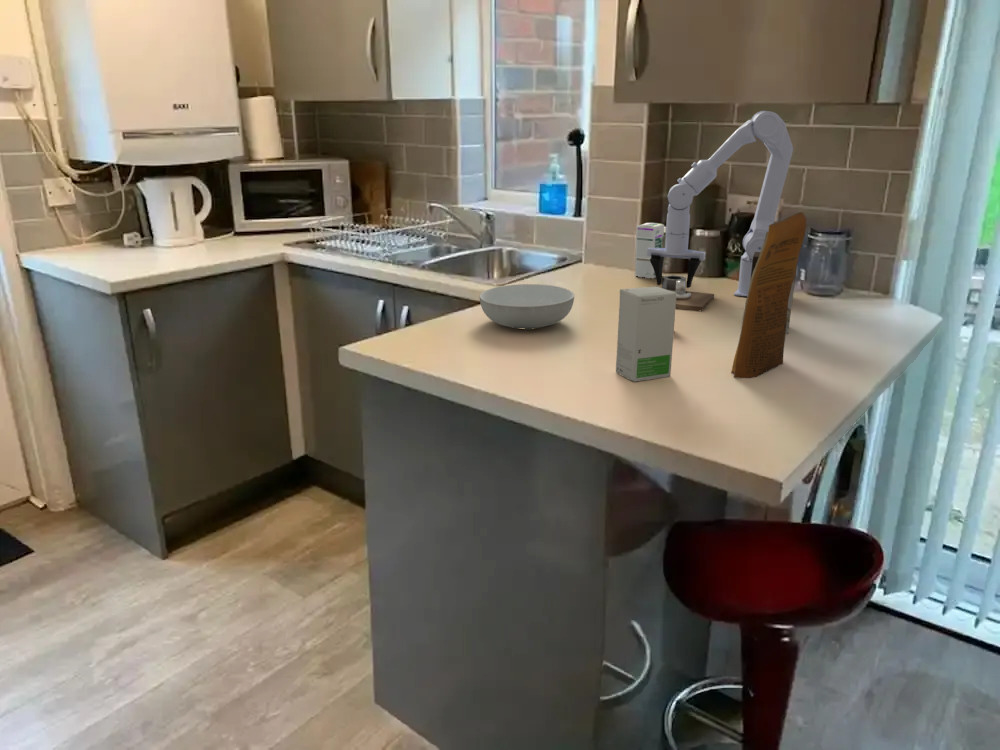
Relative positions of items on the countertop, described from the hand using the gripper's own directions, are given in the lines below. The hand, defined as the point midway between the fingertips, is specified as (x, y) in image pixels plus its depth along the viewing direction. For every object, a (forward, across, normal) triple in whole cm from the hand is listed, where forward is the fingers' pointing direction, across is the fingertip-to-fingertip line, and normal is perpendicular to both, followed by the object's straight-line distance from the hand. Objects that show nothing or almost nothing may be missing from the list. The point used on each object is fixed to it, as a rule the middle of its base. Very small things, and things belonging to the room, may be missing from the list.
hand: (673, 285), depth 202 cm
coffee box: (+2, -27, +26) cm, 38 cm away
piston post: (+1, -4, +10) cm, 11 cm away
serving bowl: (+2, +22, +44) cm, 49 cm away
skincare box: (+2, -11, +66) cm, 67 cm away
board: (+1, -4, +10) cm, 11 cm away
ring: (+1, 0, 0) cm, 1 cm away
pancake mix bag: (+2, -30, +54) cm, 62 cm away
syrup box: (+2, +11, -15) cm, 19 cm away
